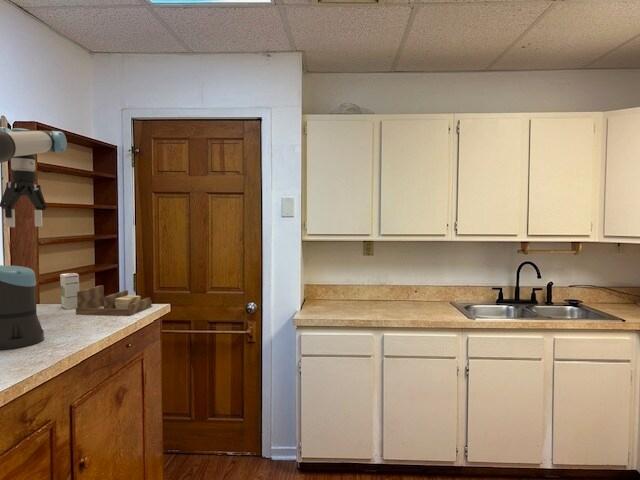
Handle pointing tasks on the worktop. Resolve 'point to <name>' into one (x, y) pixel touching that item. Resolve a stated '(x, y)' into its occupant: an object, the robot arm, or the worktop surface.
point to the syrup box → (69, 290)
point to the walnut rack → (106, 303)
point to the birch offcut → (127, 300)
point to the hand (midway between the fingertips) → (25, 226)
